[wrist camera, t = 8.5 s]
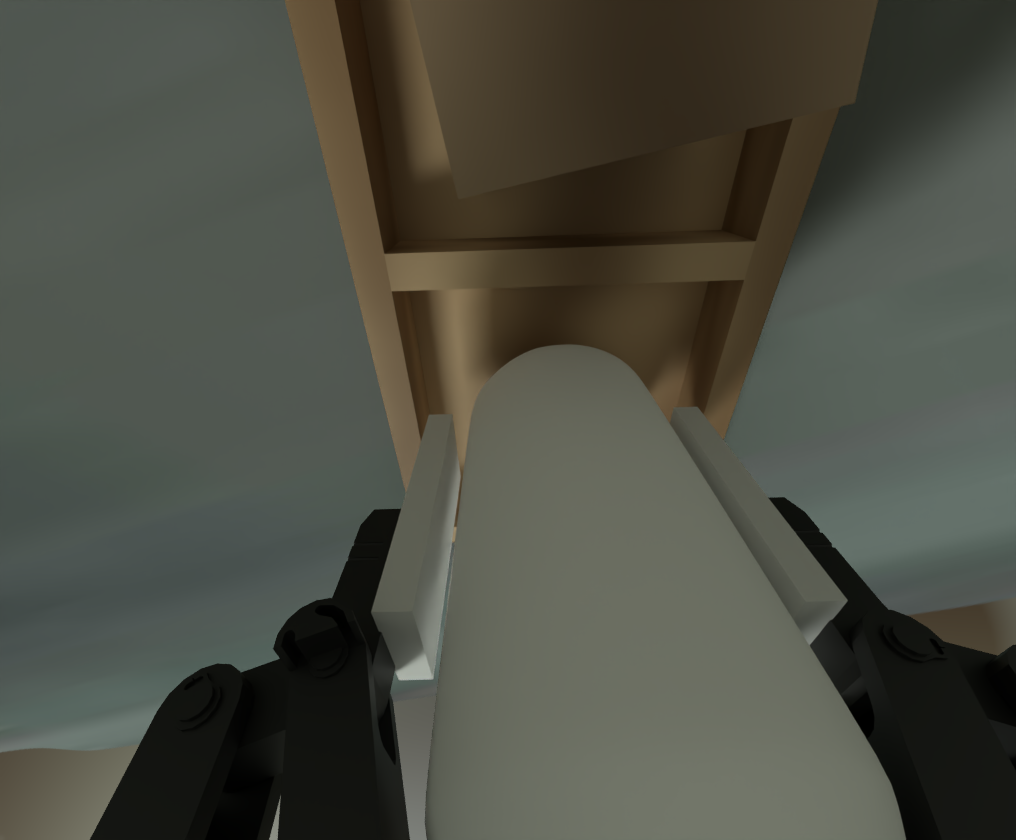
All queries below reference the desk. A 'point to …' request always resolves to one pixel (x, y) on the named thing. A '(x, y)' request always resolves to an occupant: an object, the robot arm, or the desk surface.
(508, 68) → the walnut block
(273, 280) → the desk surface
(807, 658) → the can
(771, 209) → the caddy
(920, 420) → the desk surface
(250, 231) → the desk surface
